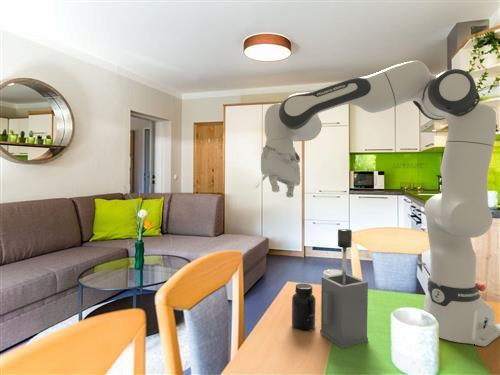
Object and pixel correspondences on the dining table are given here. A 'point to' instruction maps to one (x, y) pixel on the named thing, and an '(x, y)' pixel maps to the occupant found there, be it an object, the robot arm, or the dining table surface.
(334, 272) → the white cup
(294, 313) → the supplement bottle
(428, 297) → the robot arm
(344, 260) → the dark cylinder rod
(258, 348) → the dining table surface
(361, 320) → the gray open square box
